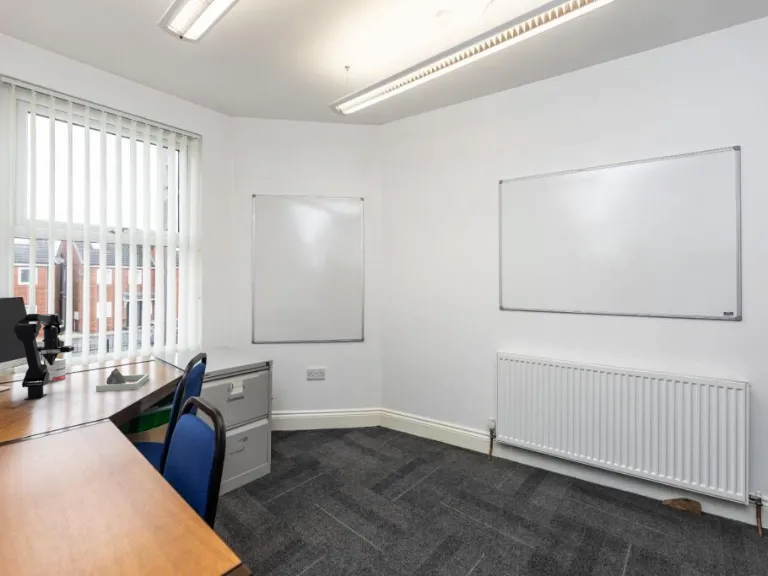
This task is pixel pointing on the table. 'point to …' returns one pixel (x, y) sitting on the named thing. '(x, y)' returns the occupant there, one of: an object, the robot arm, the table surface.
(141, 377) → the pale grey u-shaped frame
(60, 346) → the robot arm
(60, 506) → the table surface
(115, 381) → the mineral rock
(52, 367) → the ink box
